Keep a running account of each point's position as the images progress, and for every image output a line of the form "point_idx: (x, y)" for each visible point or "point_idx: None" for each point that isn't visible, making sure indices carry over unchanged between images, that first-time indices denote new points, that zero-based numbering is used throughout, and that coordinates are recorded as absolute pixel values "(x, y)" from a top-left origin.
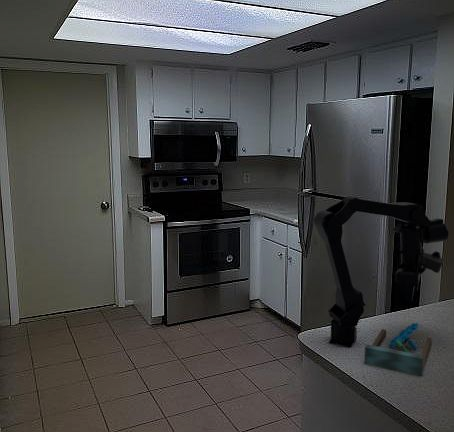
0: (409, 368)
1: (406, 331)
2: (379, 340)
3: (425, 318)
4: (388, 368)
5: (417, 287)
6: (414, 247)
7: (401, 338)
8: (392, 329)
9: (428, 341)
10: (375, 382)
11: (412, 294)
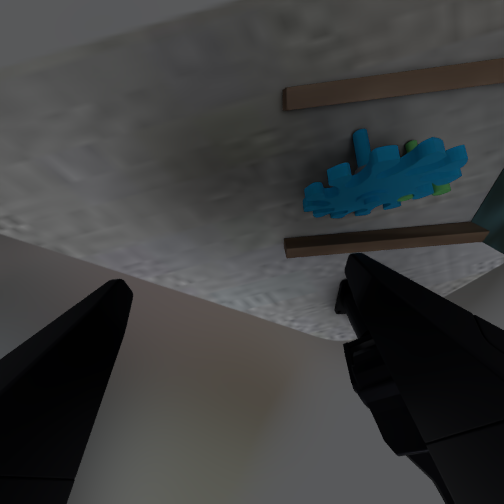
0: None
1: (390, 186)
2: (379, 241)
3: (45, 181)
4: None
5: (98, 303)
6: None
7: (416, 188)
8: (224, 238)
9: (335, 92)
10: None
11: (433, 294)
